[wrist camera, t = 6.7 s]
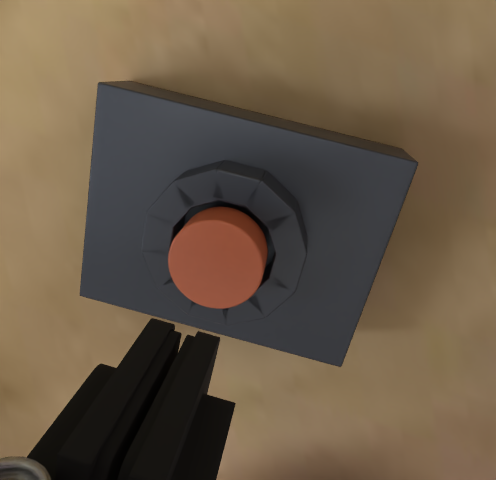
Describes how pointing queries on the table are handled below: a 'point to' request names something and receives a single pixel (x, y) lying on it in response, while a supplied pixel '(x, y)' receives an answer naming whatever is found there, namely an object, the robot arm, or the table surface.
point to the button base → (247, 201)
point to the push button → (218, 257)
